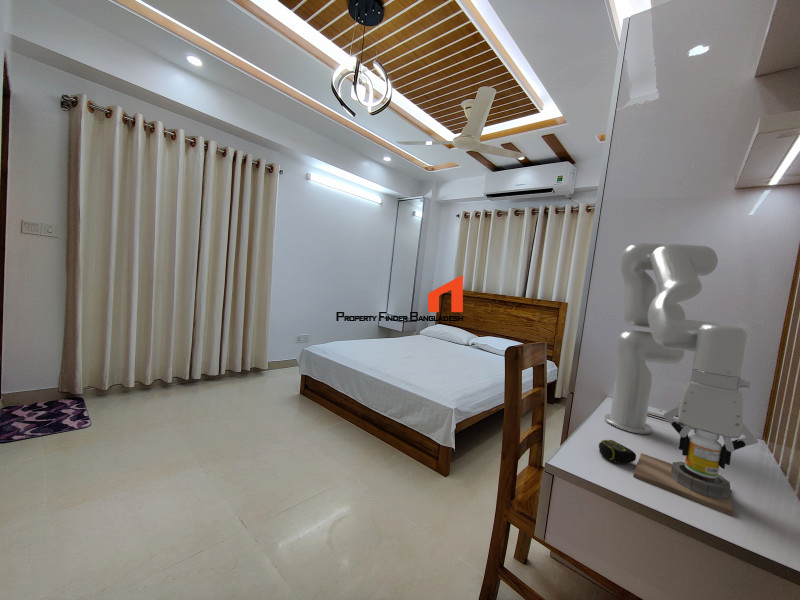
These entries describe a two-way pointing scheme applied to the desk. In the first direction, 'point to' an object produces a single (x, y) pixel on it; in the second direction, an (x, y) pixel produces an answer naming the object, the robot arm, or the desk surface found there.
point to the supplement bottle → (703, 454)
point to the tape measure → (616, 452)
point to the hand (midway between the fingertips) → (702, 458)
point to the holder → (685, 482)
